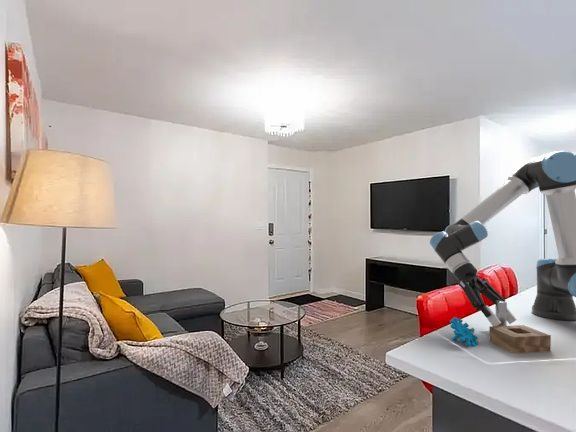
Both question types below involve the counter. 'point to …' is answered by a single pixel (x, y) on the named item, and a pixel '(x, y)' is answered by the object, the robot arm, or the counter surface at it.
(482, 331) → the mat
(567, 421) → the counter surface
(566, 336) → the counter surface
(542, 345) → the hole block
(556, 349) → the counter surface
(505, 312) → the peg
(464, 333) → the gear
